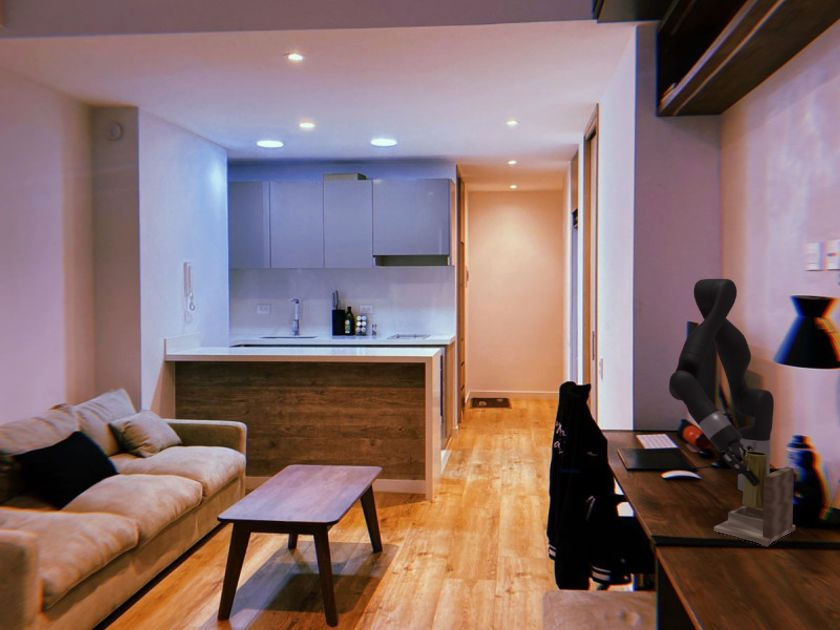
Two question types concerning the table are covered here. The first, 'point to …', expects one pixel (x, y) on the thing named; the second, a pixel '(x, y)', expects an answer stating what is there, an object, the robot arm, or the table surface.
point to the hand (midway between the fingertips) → (762, 482)
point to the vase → (759, 467)
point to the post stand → (765, 512)
